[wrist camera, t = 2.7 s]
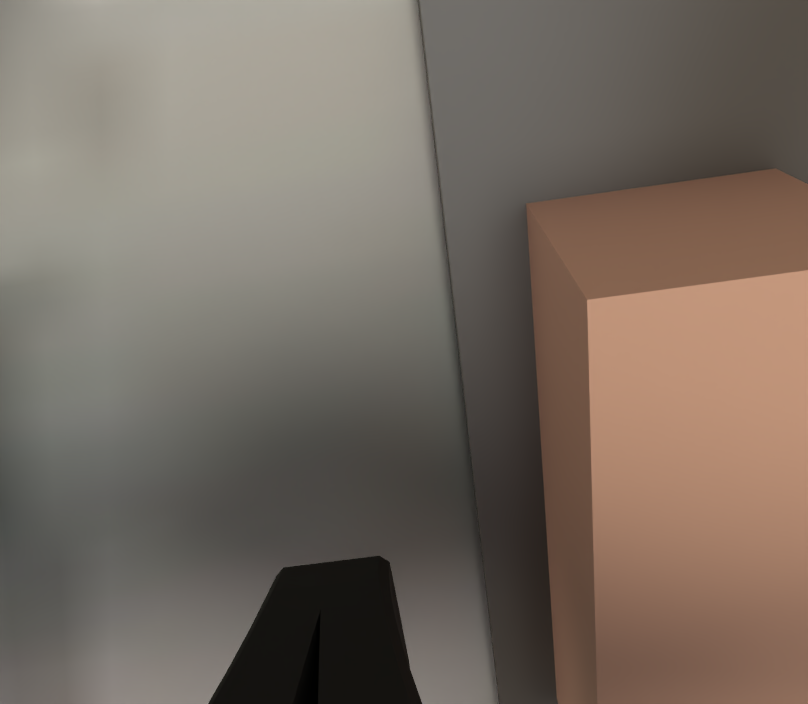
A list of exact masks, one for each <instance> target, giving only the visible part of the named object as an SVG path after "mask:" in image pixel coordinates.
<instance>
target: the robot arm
mask: <svg viewBox="0 0 808 704" xmlns="http://www.w3.org/2000/svg"><path fill="white" fill-rule="evenodd" d="M208 704H422V702H421V699H420V696H419V694H418V691H417V688H416V685H415V682H414V679H413V676H412V674H411V671H410V667H409V659H408V654H407V649H406V644H405V639H404V634H403V629H402V623H401V618H400V613H399V608H398V603H397V598H396V593H395V588H394V582H393V577H392V572H391V567H390V562H389V561H387V560H385V559H384V558H382V557H381V556H374V557H366V558H358V559H350V560H342V561H334V562H326V563H318V564H310V565H301V566H293V567H285V568H283V569H282V570H281V571H280V572H279V574H278V575H277V576H276V578H275V580H274V582H273V584H272V586H271V588H270V590H269V592H268V594H267V596H266V598H265V600H264V602H263V604H262V606H261V608H260V610H259V612H258V614H257V616H256V618H255V620H254V622H253V624H252V626H251V628H250V630H249V632H248V634H247V635H246V637H245V639H244V641H243V643H242V645H241V647H240V648H239V650H238V652H237V654H236V656H235V658H234V660H233V661H232V663H231V665H230V667H229V669H228V670H227V672H226V674H225V676H224V677H223V679H222V681H221V682H220V684H219V686H218V688H217V689H216V691H215V693H214V695H213V696H212V698H211V700H210V701H209V703H208Z"/></svg>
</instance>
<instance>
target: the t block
mask: <svg viewBox="0 0 808 704" xmlns="http://www.w3.org/2000/svg"><path fill="white" fill-rule="evenodd" d="M526 210H527V226H528V242H529V258H530V274H531V290H532V306H533V322H534V339H535V355H536V371H537V387H538V403H539V419H540V435H541V451H542V467H543V483H544V499H545V515H546V532H547V548H548V564H549V580H550V596H551V612H552V628H553V644H554V660H555V676H556V692H557V701H558V704H808V184H807V183H804V182H802V181H800V180H798V179H796V178H794V177H792V176H790V175H788V174H786V173H784V172H782V171H780V170H778V169H776V168H775V169H768V170H761V171H754V172H747V173H740V174H733V175H725V176H718V177H711V178H704V179H697V180H690V181H683V182H676V183H669V184H661V185H654V186H647V187H640V188H633V189H626V190H619V191H612V192H605V193H597V194H590V195H583V196H576V197H569V198H562V199H555V200H548V201H541V202H533V203H526Z"/></svg>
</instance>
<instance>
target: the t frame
mask: <svg viewBox="0 0 808 704" xmlns="http://www.w3.org/2000/svg"><path fill="white" fill-rule="evenodd" d="M418 5H419V14H420V22H421V31H422V40H423V48H424V57H425V66H426V74H427V83H428V91H429V100H430V109H431V117H432V126H433V135H434V143H435V152H436V161H437V169H438V178H439V187H440V195H441V204H442V212H443V221H444V230H445V238H446V247H447V256H448V264H449V273H450V282H451V290H452V299H453V308H454V316H455V325H456V334H457V342H458V351H459V359H460V368H461V377H462V385H463V394H464V403H465V411H466V420H467V429H468V437H469V446H470V455H471V463H472V472H473V480H474V489H475V498H476V506H477V515H478V524H479V532H480V541H481V550H482V558H483V567H484V576H485V584H486V593H487V602H488V610H489V619H490V627H491V636H492V645H493V653H494V662H495V671H496V679H497V688H498V697H499V704H558V701H557V692H556V676H555V660H554V644H553V628H552V612H551V596H550V580H549V564H548V548H547V532H546V515H545V499H544V483H543V467H542V451H541V435H540V419H539V403H538V387H537V371H536V355H535V339H534V322H533V306H532V290H531V274H530V258H529V242H528V226H527V210H526V203H533V202H541V201H548V200H555V199H562V198H569V197H576V196H583V195H590V194H597V193H605V192H612V191H619V190H626V189H633V188H640V187H647V186H654V185H661V184H669V183H676V182H683V181H690V180H697V179H704V178H711V177H718V176H725V175H733V174H740V173H747V172H754V171H761V170H768V169H775V168H776V169H778V170H780V171H782V172H784V173H786V174H788V175H790V176H792V177H794V178H796V179H798V180H800V181H802V182H804V183H807V184H808V0H418Z"/></svg>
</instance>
